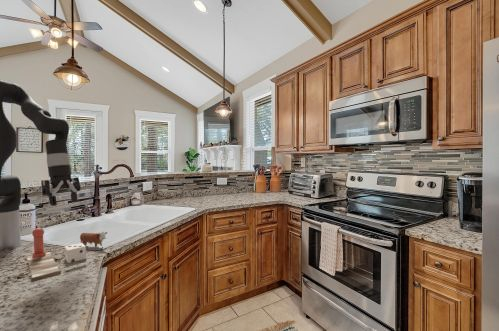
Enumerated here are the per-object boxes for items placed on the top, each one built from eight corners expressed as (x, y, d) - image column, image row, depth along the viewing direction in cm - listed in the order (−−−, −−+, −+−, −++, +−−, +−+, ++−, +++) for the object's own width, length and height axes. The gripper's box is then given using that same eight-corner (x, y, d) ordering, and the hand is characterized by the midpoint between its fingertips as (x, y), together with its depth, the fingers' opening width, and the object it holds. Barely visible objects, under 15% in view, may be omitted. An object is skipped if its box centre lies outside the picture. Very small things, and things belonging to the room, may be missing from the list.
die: (65, 261, 101) (64, 246, 101) (82, 256, 105) (82, 242, 105) (68, 265, 97) (67, 250, 97) (86, 261, 101) (85, 246, 101)
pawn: (32, 255, 104) (30, 228, 103) (45, 253, 107) (43, 226, 106) (33, 258, 101) (31, 230, 100) (46, 255, 104) (45, 228, 103)
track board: (25, 259, 103) (25, 256, 103) (50, 254, 109) (50, 251, 108) (31, 281, 85) (31, 277, 85) (60, 273, 91) (60, 270, 91)
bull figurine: (103, 251, 111) (103, 233, 111) (77, 249, 114) (77, 231, 113) (110, 248, 115) (110, 230, 115) (86, 246, 118) (85, 228, 118)
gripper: (69, 165, 113) (74, 201, 113) (33, 167, 99) (39, 207, 99) (81, 163, 111) (86, 199, 111) (47, 164, 97) (53, 206, 97)
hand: (64, 203), depth 105 cm, fingers open, 8 cm apart
